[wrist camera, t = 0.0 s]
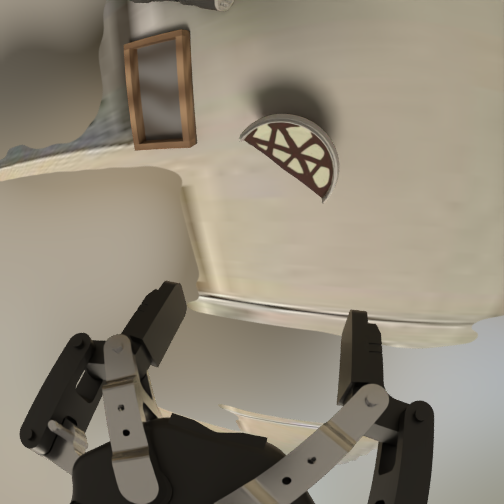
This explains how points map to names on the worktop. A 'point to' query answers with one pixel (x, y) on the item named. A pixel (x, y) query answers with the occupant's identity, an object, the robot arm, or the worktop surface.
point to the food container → (297, 150)
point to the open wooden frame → (161, 91)
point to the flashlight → (199, 3)
